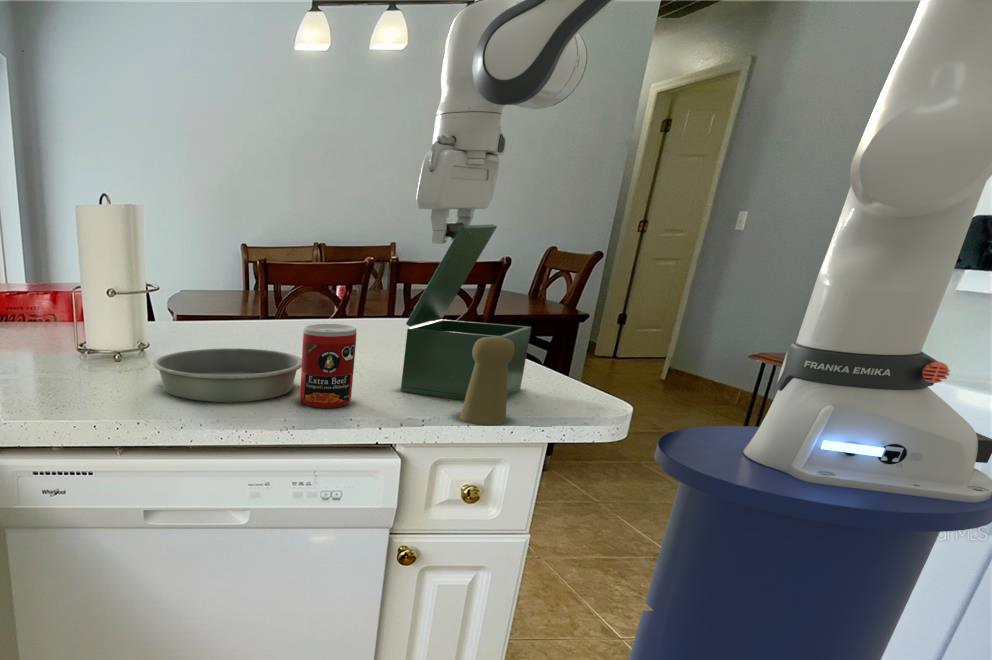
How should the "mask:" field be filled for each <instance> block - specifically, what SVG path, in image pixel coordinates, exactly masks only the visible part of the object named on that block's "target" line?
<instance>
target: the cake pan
mask: <svg viewBox="0 0 992 660" xmlns="http://www.w3.org/2000/svg"><path fill="white" fill-rule="evenodd" d="M152 366H153V368H154V369H156V370H157V371H159V374H160V378H161V382H162V387H163V389H164V391H165V392H167V394H170V395H172V396H175V397H179V398H181V399H187V400H191V401H193V400H194V401H200V402H201V401H202V402H214V403H215V402H218V403H240V402H241V403H243V402H256V401H263V400H269V399H274V398H278V397H281V396H284V395H286V394H288V393H289V392H291V391H292V389H293V387H294V382H295V379H296V376H297V375H296V374H297V371H298V370H300V369H302V357H299V356H297V355H296V354H292V353H288V352H283V351H278V350H270V349H261V348H260V349H259V348H241V347H240V348H239V347H238V348H237V347H233V348H230V347H225V348H224V347H223V348H221V347H220V348H203V349H202V348H201V349H191V350H183V351H178V352H171V353H168V354H164V355H161V356H159V357H157V358H156V359H154V360H153V361H152Z"/></svg>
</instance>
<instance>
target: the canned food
mask: <svg viewBox="0 0 992 660" xmlns="http://www.w3.org/2000/svg"><path fill="white" fill-rule="evenodd" d="M356 346H357V327H356V326H353V325H348V324H339V323H337V324H336V323H319V324H318V323H317V324H310V325H306V326H304V328H303V335H302V351H301V359H302V367H301V370H300V371H301V372H300V376H301V377H300V395H299V396H300V401H301V403H302V404H303V405H305V406H307V407H311V408H318V409H319V408H320V409H337V408H343V407H345V406H347V405H349V404H350V401H351V398H352V394H353V393H352V392H353V383H354V371H355V369H354V368H355V359H356Z"/></svg>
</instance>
